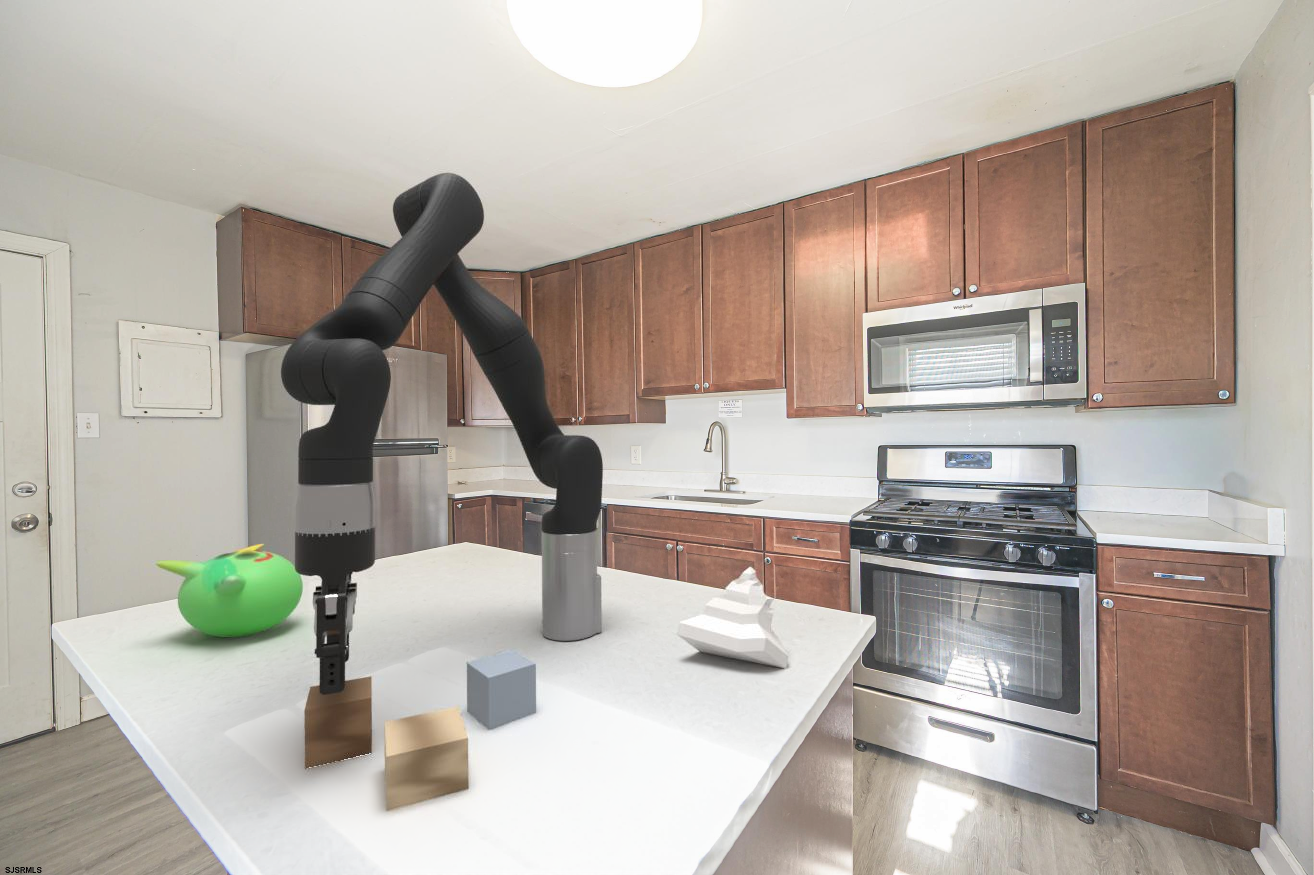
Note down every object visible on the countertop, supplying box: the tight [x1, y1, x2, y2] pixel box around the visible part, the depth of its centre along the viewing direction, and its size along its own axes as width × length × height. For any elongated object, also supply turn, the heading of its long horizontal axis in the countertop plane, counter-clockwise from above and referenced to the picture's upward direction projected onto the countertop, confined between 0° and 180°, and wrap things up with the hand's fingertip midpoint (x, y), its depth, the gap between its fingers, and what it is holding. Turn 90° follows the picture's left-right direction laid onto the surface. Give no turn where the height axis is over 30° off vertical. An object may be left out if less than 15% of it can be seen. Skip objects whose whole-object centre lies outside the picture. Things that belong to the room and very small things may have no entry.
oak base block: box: [384, 706, 470, 811], centre depth 56 cm, size 7×7×5 cm
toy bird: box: [155, 543, 304, 638], centre depth 97 cm, size 18×17×15 cm
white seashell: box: [676, 566, 789, 669], centre depth 86 cm, size 12×15×14 cm
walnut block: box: [303, 675, 373, 770], centre depth 61 cm, size 6×6×6 cm
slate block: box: [466, 649, 537, 731], centre depth 69 cm, size 6×6×6 cm
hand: (335, 676), depth 61 cm, fingers open, 8 cm apart
